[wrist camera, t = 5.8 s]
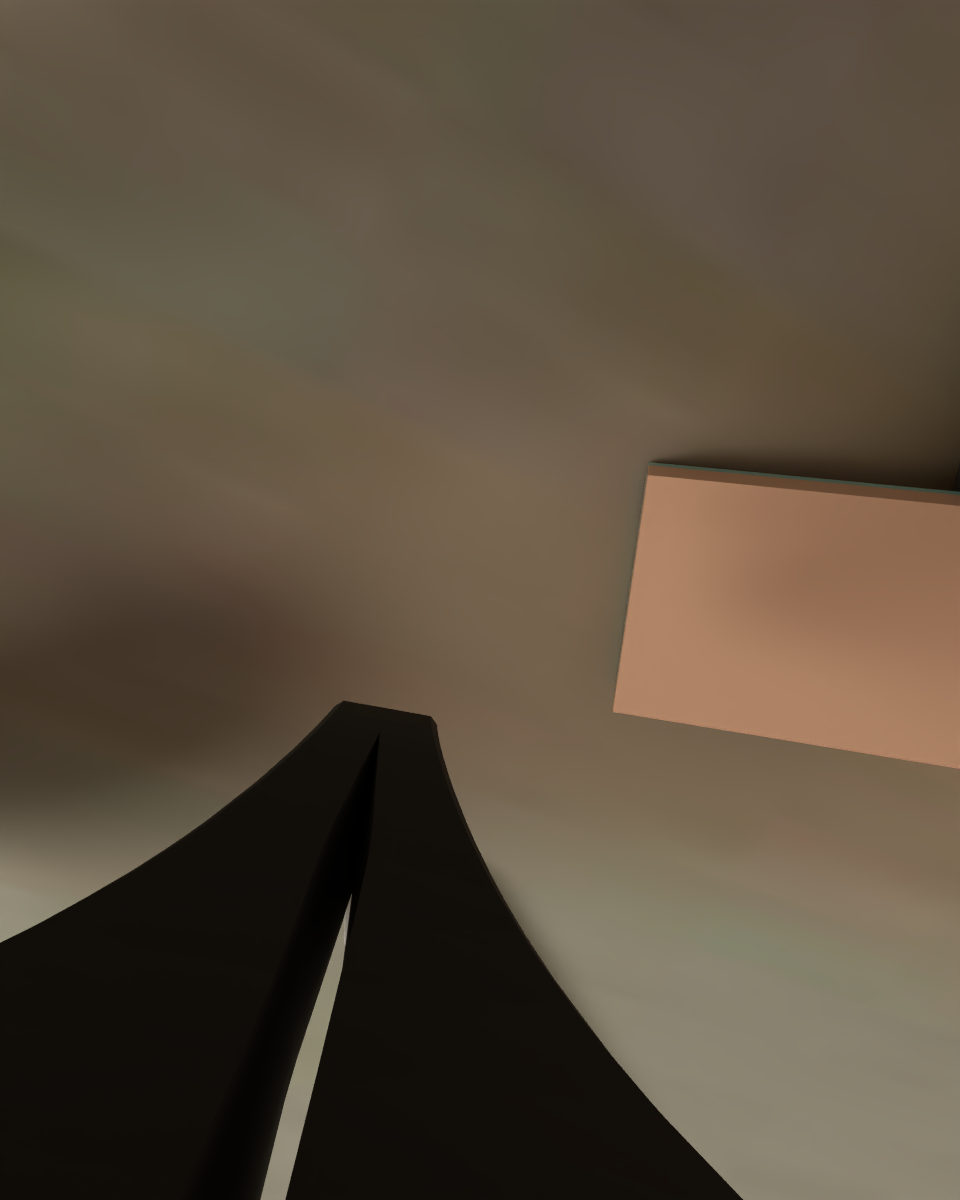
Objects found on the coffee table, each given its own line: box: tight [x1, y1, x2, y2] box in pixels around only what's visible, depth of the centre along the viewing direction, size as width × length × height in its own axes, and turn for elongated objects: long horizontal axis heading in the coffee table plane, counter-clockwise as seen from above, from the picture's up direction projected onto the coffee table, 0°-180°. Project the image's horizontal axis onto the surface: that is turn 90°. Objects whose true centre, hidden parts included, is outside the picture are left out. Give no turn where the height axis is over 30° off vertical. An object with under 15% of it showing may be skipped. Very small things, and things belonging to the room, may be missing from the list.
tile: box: [613, 462, 960, 769], centre depth 16 cm, size 2×6×8 cm
